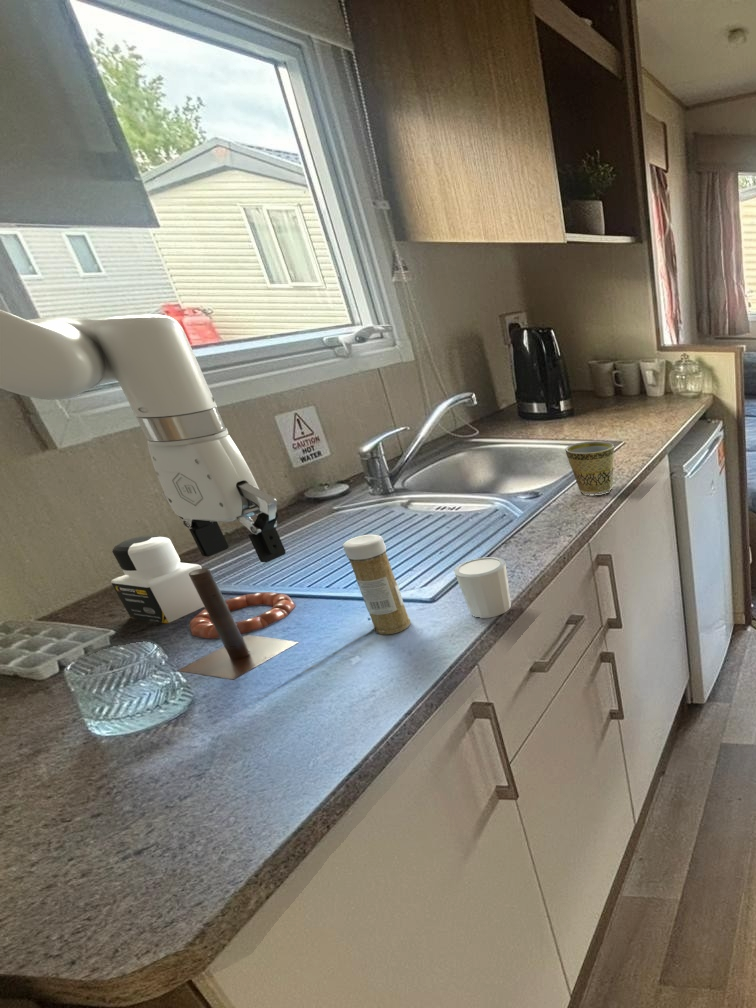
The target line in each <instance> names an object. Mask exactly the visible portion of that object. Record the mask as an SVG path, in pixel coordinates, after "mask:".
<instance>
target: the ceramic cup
mask: <svg viewBox="0 0 756 1008" xmlns="http://www.w3.org/2000/svg"><path fill="white" fill-rule="evenodd" d="M564 450H565V454H566V458H567V460H568V463H569V466H570V468H571V471H572V472H573V476H574V479H575V482H576V483H577V487H578V490H579V492H580V493H581V492H582V493H584V494H589V495H590V494H594V495H595V494H602V493H606V492H609V491H610V490H611V489H612V490H613V489H614V488H613V487H614V486H613V485H614V484H613V483H614V462H615V446H614V444H613V443H611V442H609V441H602V440H601V441H600V440H592V441H583V442H582V441H581V442H577V443H573V444H570V445H568V446H567V447H565V449H564ZM612 490H611V491H612Z"/></svg>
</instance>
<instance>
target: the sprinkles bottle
mask: <svg viewBox="0 0 756 1008" xmlns="http://www.w3.org/2000/svg"><path fill="white" fill-rule="evenodd" d="M342 547H343V551H344V553H345V556H346V558H347V559H348V561H349V562H350V565H351V568H352V570H353V573H354V577H355V580H356V584H357V587H358V588H359V591H360V594H361V596H362V599H363V602H364V605H365V608H366V610H367V612H368V614H369V616H370V619H371V623H372V625H373V631H374V632H375V633H376V634H378V635H382V636H383V635H384V636H385V635H386V636H387V635H393V634H397V633H401V632H402V631H404V630H406V629H408V627H409V626H410V625H411V619H410V618H409V616H408V612H407V610H406V607H405V604H404V599H403V597H402V593H401V591H400V588H399V585H398V583H397V581H396V577H395V575H394V572H393V570H392V566H391V563H390V561H389V558H388V555H387V547H386V544H385V541H384V538H383V536H381V535H379V534H363V535H358V536H355V537H351V538H350V539H347V540H346V541H345V542H344V543H343V544H342Z"/></svg>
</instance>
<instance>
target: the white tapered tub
mask: <svg viewBox="0 0 756 1008" xmlns="http://www.w3.org/2000/svg"><path fill="white" fill-rule="evenodd" d="M453 573H454V575H455V578H456V581H457V583H458V586H459V588H460V591H461V593H462V596H463V598H464V600H465V602H466V605H467V608H468V611H469V613H470V616H472V615H473V616H472V617H474V616H475V617H474V618H476V617H480V618H479V619H488V618H489V619H490V618H494V617H498V616H500V615H503V614H505V613H506V612H508V611H509V610H510V609H511V607H512V600H511V593H510V586H509V577H508V571H507V564H506V561H505V559H503V558H500V557H493V556H487V557H478V558H474V559H470V560H467V561H464V562H462V563H460V564H458V565H457V566H456V567H455V568H454V569H453Z"/></svg>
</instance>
